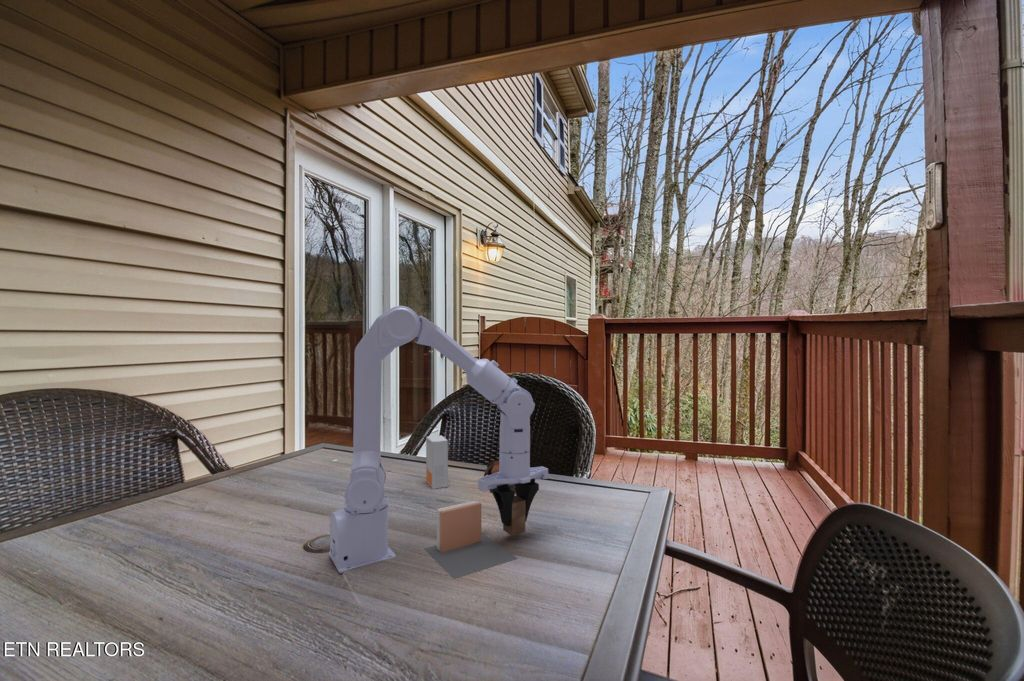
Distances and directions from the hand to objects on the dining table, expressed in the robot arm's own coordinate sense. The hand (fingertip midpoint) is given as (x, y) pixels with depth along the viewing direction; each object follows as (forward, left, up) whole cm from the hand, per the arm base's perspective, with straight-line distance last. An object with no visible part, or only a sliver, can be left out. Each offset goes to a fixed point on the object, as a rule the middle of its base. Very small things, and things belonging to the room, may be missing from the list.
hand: (514, 522), depth 88 cm
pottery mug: (+14, +25, -4) cm, 29 cm away
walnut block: (0, 0, -2) cm, 2 cm away
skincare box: (+1, +37, -4) cm, 37 cm away
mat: (-10, -1, -4) cm, 11 cm away
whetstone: (-10, +3, -3) cm, 11 cm away
